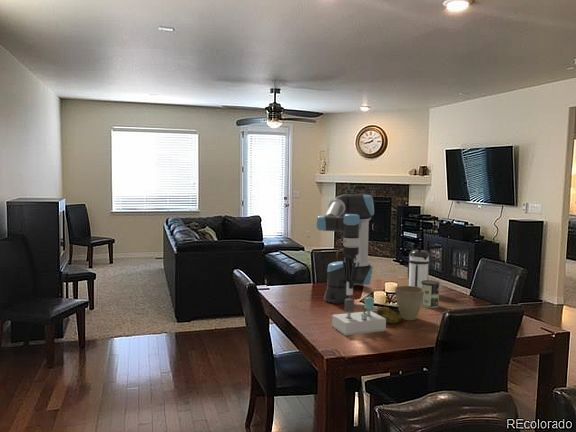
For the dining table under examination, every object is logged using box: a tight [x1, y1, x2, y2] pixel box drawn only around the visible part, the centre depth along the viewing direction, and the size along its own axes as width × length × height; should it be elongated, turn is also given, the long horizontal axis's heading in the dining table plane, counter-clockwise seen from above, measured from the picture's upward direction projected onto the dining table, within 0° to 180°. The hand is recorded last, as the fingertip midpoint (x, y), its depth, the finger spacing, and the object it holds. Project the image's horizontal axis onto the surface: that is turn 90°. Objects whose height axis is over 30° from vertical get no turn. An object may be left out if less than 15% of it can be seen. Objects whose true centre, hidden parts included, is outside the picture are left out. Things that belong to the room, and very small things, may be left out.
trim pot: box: [361, 311, 367, 321], centre depth 231 cm, size 3×3×4 cm
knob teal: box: [363, 296, 375, 317], centre depth 237 cm, size 4×4×10 cm
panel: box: [331, 310, 387, 336], centre depth 236 cm, size 14×22×6 cm, turn 111°
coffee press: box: [407, 246, 431, 288], centre depth 315 cm, size 17×16×30 cm
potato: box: [376, 306, 403, 325], centre depth 247 cm, size 8×13×8 cm, turn 76°
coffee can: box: [421, 279, 440, 309], centre depth 281 cm, size 10×10×14 cm
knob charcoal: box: [344, 298, 355, 319], centre depth 233 cm, size 4×4×10 cm
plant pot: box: [394, 285, 424, 321], centre depth 254 cm, size 15×15×16 cm
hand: (349, 294), depth 233 cm, fingers closed
